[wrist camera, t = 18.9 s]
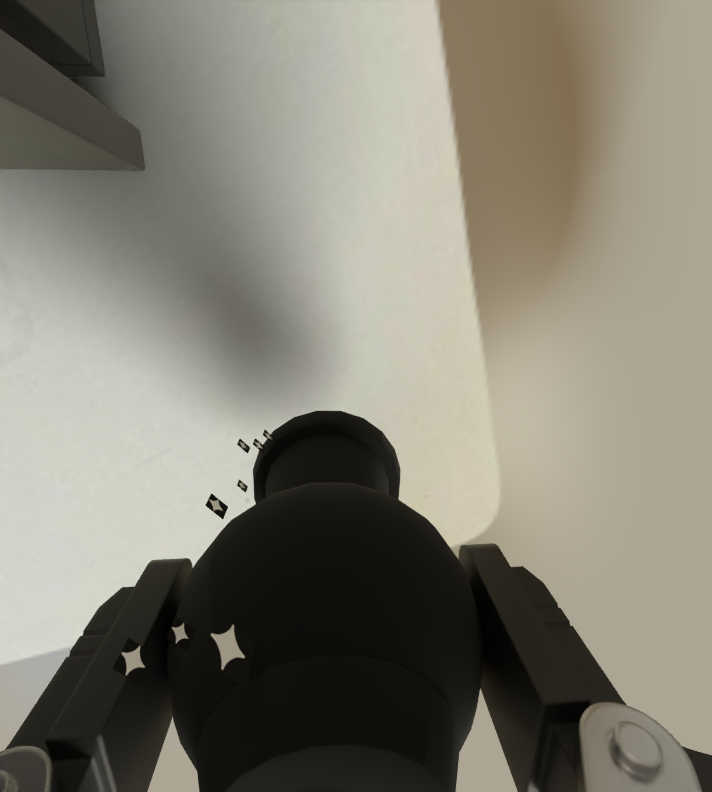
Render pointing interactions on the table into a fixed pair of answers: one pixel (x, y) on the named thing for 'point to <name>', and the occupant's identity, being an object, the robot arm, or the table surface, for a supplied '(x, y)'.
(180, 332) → the table surface
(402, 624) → the gumball machine
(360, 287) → the table surface
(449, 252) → the table surface
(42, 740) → the robot arm
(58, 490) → the table surface
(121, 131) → the open grey drawer
